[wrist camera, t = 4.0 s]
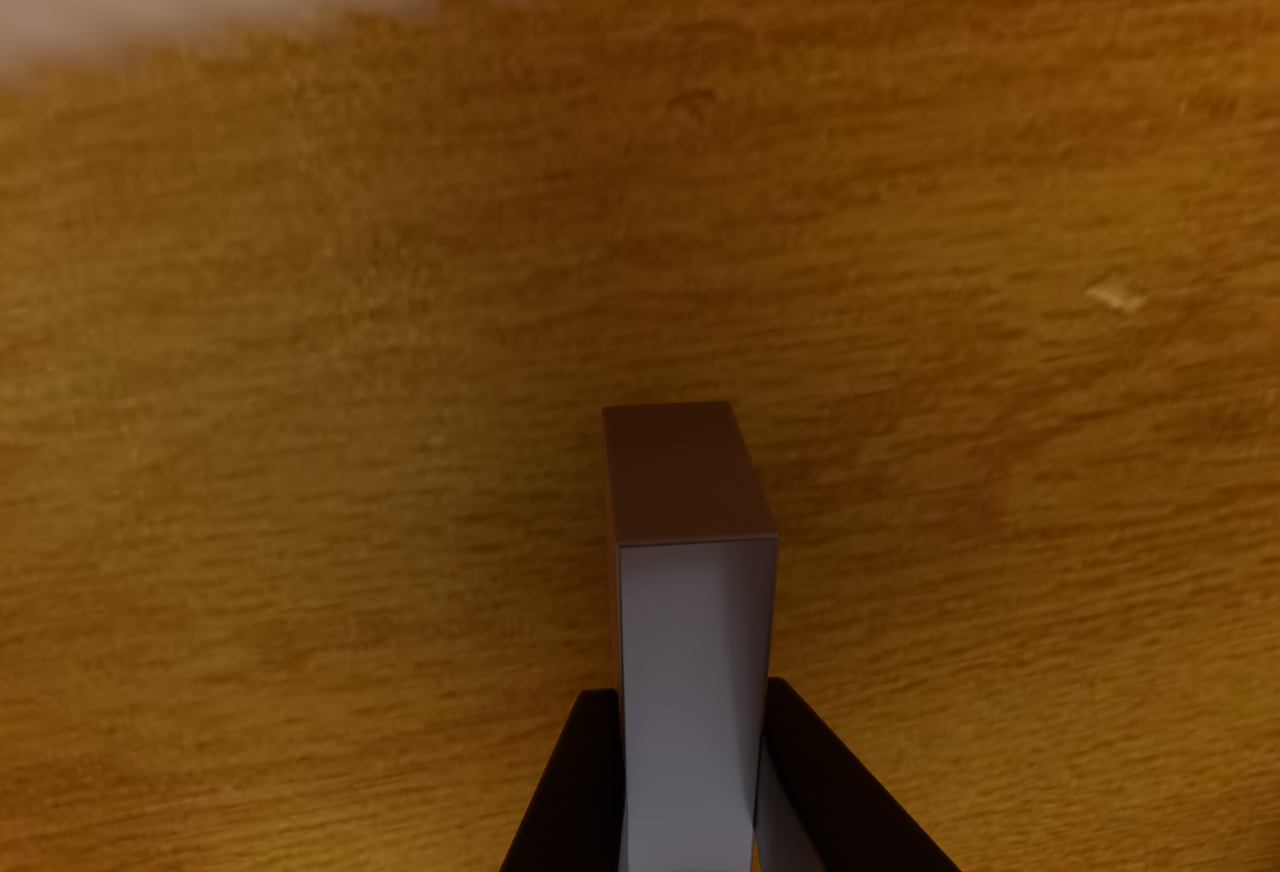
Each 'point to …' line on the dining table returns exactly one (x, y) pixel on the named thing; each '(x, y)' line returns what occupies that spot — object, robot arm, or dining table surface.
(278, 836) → the dining table surface
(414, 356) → the dining table surface
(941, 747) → the dining table surface
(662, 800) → the fork
